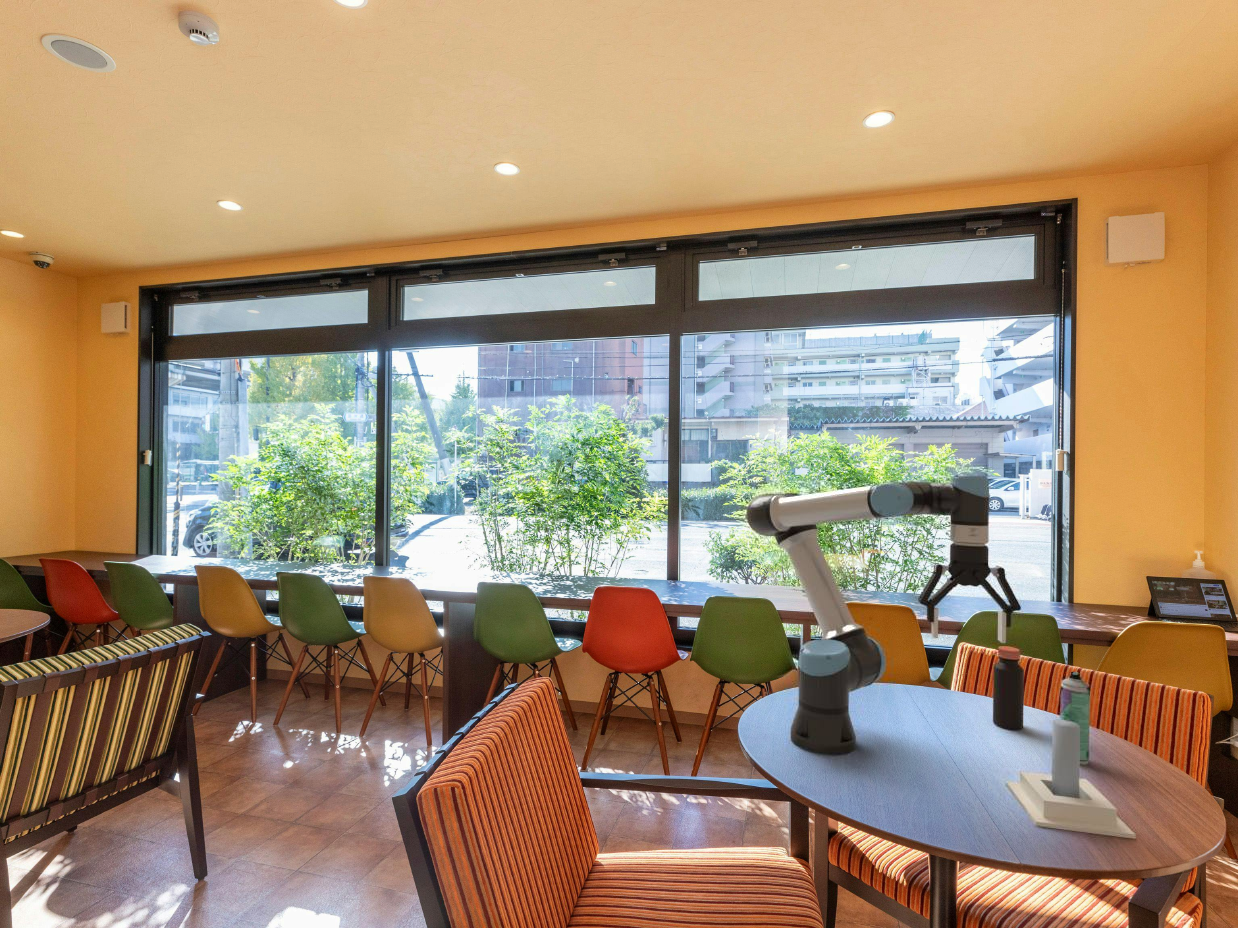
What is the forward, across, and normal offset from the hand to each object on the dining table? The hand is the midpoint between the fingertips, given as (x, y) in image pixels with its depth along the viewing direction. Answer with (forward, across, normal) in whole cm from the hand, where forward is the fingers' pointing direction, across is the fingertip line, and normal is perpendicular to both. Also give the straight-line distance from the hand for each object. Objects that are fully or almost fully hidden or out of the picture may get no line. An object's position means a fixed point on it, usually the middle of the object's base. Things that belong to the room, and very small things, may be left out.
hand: (967, 639), depth 142 cm
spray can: (+29, +26, +12) cm, 41 cm away
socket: (+29, +14, -14) cm, 35 cm away
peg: (+28, +14, -14) cm, 34 cm away
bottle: (+29, +18, +30) cm, 45 cm away
